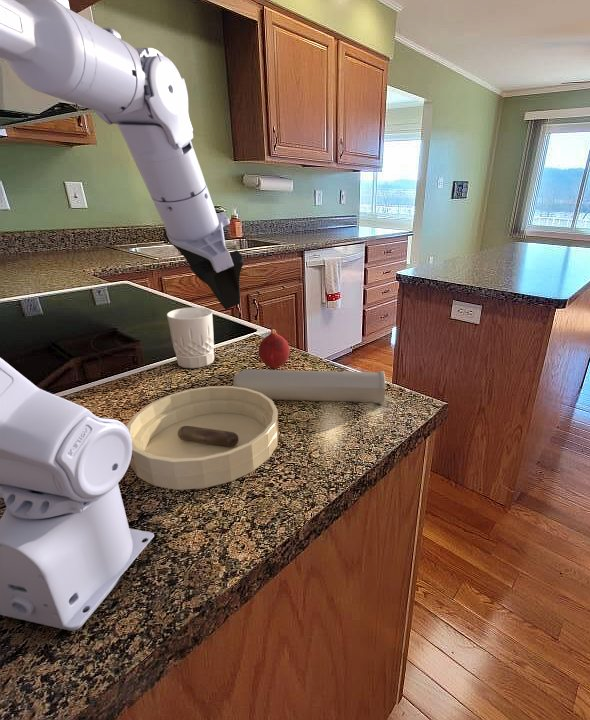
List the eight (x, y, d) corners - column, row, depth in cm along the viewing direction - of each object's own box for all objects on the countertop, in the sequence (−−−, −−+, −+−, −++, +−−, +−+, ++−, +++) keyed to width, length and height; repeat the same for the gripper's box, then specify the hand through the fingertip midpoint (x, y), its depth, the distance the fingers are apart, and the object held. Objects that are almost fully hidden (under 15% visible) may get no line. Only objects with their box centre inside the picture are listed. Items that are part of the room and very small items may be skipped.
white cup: (181, 354, 81) (174, 306, 78) (221, 354, 82) (216, 307, 78) (168, 370, 74) (160, 318, 70) (211, 369, 75) (206, 319, 71)
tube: (225, 384, 62) (385, 388, 62) (234, 361, 65) (384, 365, 66) (232, 407, 65) (383, 410, 66) (239, 384, 69) (382, 387, 70)
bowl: (242, 505, 44) (239, 472, 42) (95, 480, 46) (86, 448, 44) (296, 420, 60) (295, 394, 59) (186, 405, 63) (182, 379, 61)
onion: (295, 371, 76) (294, 332, 73) (266, 377, 73) (264, 337, 70) (283, 360, 81) (281, 323, 78) (255, 366, 78) (252, 327, 75)
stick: (241, 442, 53) (240, 430, 53) (234, 451, 52) (233, 438, 51) (184, 434, 55) (182, 421, 54) (175, 442, 53) (173, 429, 52)
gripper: (243, 201, 40) (272, 304, 50) (189, 157, 47) (224, 254, 58) (174, 226, 37) (220, 330, 47) (129, 175, 45) (177, 274, 55)
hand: (219, 290), depth 52 cm, fingers open, 7 cm apart
